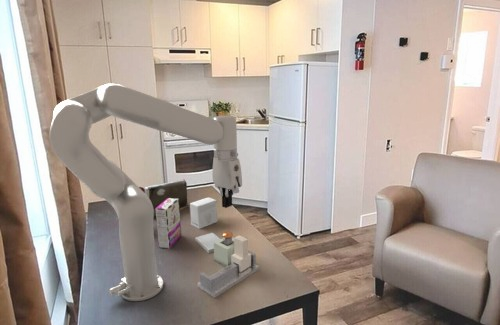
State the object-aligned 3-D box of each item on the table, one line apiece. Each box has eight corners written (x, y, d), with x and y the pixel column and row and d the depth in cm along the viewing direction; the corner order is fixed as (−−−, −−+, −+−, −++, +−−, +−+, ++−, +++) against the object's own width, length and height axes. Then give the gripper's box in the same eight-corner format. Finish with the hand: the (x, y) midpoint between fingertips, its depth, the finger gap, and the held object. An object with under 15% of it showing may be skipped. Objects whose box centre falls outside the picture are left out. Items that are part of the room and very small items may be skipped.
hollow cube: (227, 267, 111) (227, 249, 110) (214, 260, 116) (213, 242, 114) (242, 259, 116) (241, 241, 115) (228, 252, 121) (228, 235, 119)
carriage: (240, 272, 106) (240, 243, 104) (231, 267, 109) (230, 238, 107) (251, 265, 110) (251, 237, 107) (241, 261, 113) (241, 233, 110)
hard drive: (227, 244, 125) (213, 232, 135) (208, 250, 121) (194, 237, 131) (227, 248, 125) (213, 235, 136) (208, 254, 121) (195, 240, 131)
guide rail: (214, 297, 96) (214, 282, 95) (197, 286, 101) (196, 271, 100) (259, 269, 110) (259, 255, 109) (242, 260, 116) (241, 247, 114)
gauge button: (227, 255, 113) (227, 237, 111) (220, 251, 115) (220, 233, 114) (235, 251, 115) (234, 233, 114) (228, 247, 118) (227, 230, 116)
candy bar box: (170, 234, 135) (167, 197, 131) (181, 235, 134) (179, 198, 130) (157, 248, 125) (154, 208, 121) (170, 249, 124) (167, 209, 120)
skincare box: (209, 217, 152) (208, 196, 149) (218, 221, 147) (217, 200, 145) (190, 224, 145) (189, 202, 142) (199, 229, 140) (198, 206, 137)
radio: (185, 202, 170) (184, 175, 167) (194, 207, 164) (192, 179, 160) (142, 214, 156) (139, 184, 152) (150, 220, 149) (147, 189, 146)
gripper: (250, 155, 104) (250, 208, 109) (218, 148, 114) (220, 198, 119) (233, 159, 99) (234, 215, 104) (202, 152, 109) (204, 204, 113)
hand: (227, 206), depth 111 cm, fingers closed
